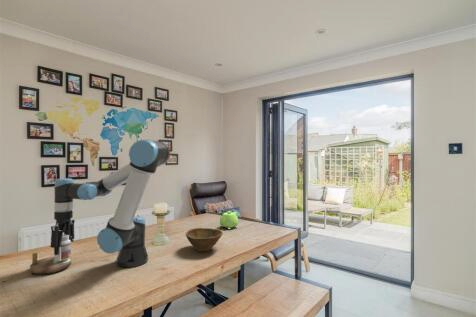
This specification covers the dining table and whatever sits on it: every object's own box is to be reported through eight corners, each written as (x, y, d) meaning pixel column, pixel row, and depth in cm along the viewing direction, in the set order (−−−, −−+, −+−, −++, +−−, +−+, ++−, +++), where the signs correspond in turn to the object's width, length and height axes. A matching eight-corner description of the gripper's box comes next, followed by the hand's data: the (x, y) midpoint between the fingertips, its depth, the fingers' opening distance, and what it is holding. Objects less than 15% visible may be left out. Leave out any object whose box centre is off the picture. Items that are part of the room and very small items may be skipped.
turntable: (73, 258, 137) (74, 244, 137) (67, 270, 123) (67, 255, 122) (36, 262, 131) (36, 248, 131) (24, 275, 116) (24, 260, 116)
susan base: (71, 267, 129) (71, 265, 129) (42, 276, 119) (42, 274, 119) (58, 261, 135) (58, 260, 135) (30, 269, 125) (30, 268, 125)
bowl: (230, 249, 159) (231, 232, 159) (200, 259, 143) (201, 240, 142) (206, 240, 174) (207, 225, 174) (177, 248, 157) (177, 232, 157)
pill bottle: (53, 258, 129) (53, 235, 129) (67, 255, 134) (68, 233, 134) (57, 262, 125) (58, 238, 125) (72, 258, 130) (72, 235, 130)
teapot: (226, 231, 196) (227, 214, 196) (213, 228, 204) (214, 211, 204) (243, 226, 211) (243, 210, 211) (230, 223, 220) (231, 208, 220)
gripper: (69, 206, 139) (68, 250, 139) (40, 214, 120) (39, 265, 120) (83, 207, 139) (82, 251, 139) (57, 215, 119) (56, 266, 120)
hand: (62, 257), depth 129 cm, fingers closed on pill bottle, 6 cm apart
